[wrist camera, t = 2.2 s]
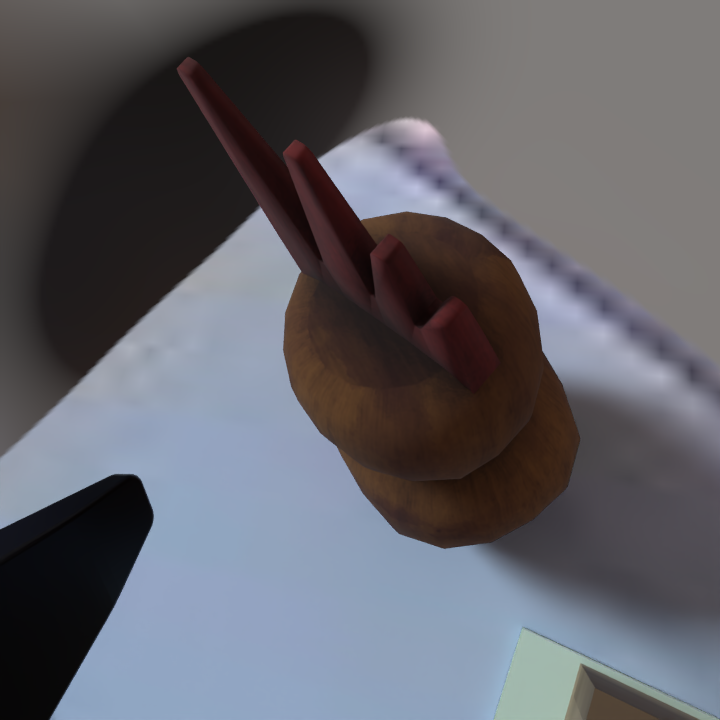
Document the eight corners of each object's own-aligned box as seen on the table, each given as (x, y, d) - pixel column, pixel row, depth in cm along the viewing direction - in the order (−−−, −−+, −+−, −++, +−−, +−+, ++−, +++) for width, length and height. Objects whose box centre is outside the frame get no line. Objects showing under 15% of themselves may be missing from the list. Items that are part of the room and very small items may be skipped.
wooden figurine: (348, 404, 20) (-2, 83, 7) (485, 327, 20) (402, -178, 6) (435, 582, 17) (123, 635, 4) (598, 496, 17) (885, 222, 3)
